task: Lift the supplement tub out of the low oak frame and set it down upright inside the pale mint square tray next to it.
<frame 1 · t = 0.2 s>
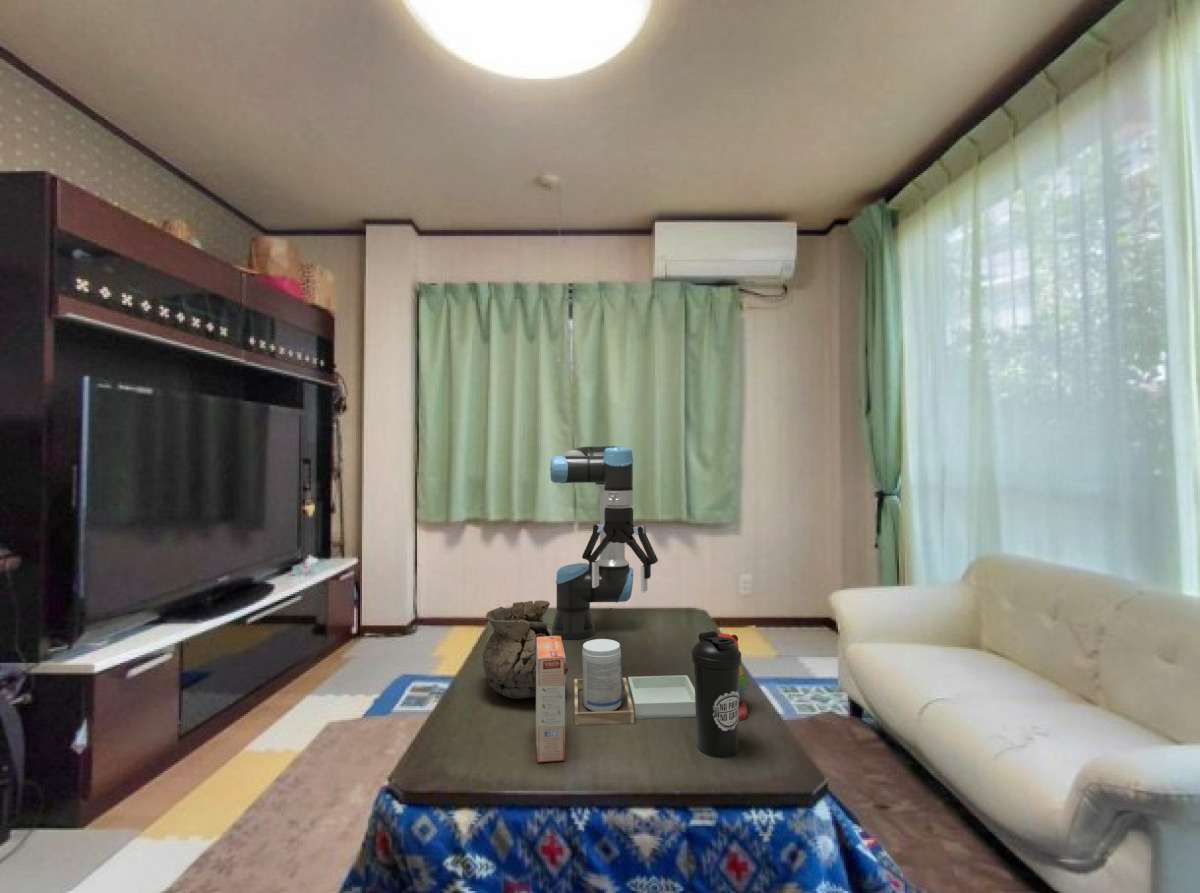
hand: (619, 589, 141), 27 cm above the table, tool pointing down, fingers open, 13 cm apart
supplement tub: (602, 705, 134), resting in oak frame
cracker box: (550, 745, 116), on the table
oak frame: (602, 704, 134), on the table
water bottle: (717, 747, 114), on the table
pale mint square tray: (662, 702, 135), on the table
clay pot: (523, 692, 142), on the table
stacking bear: (725, 709, 132), on the table
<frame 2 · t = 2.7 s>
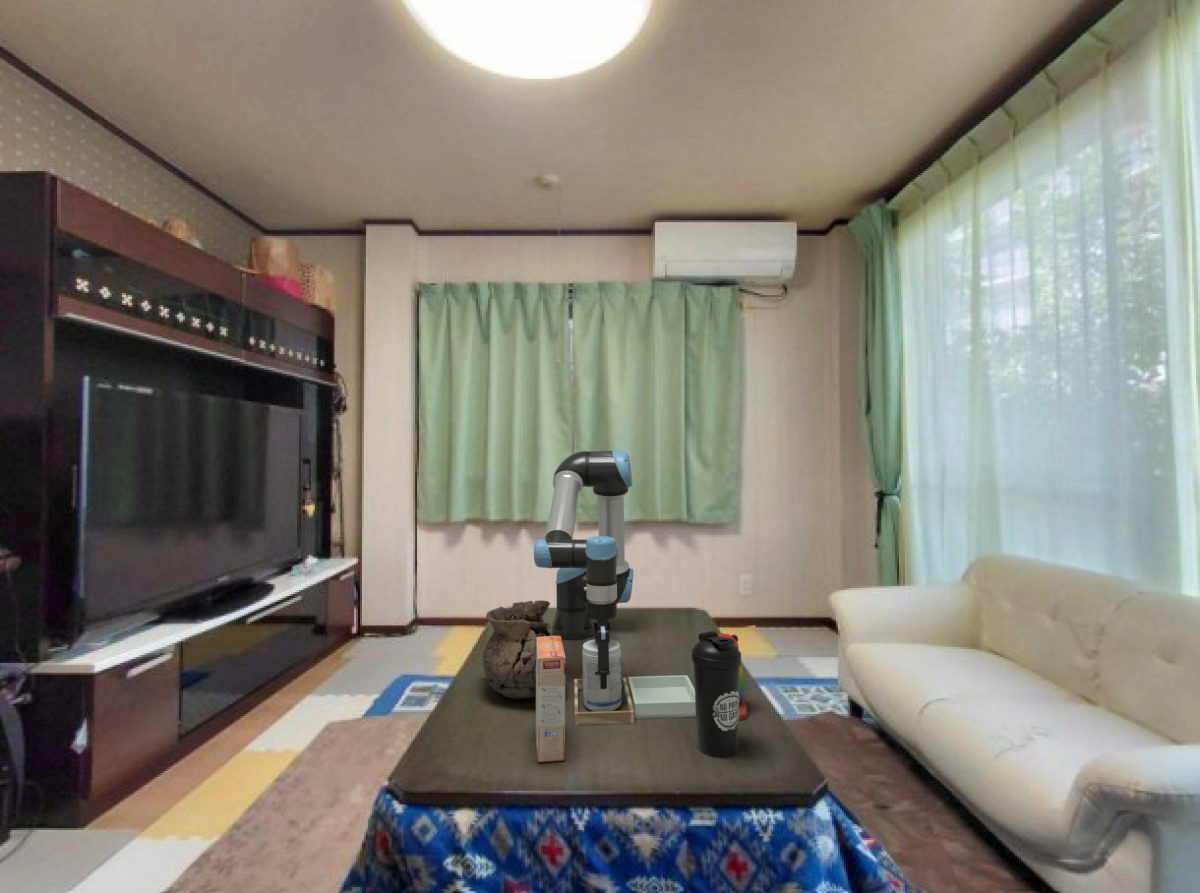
hand: (602, 691, 134), 3 cm above the table, tool pointing down, fingers closed on supplement tub, 10 cm apart
supplement tub: (602, 705, 134), resting in oak frame, touching gripper
everything else where it was.
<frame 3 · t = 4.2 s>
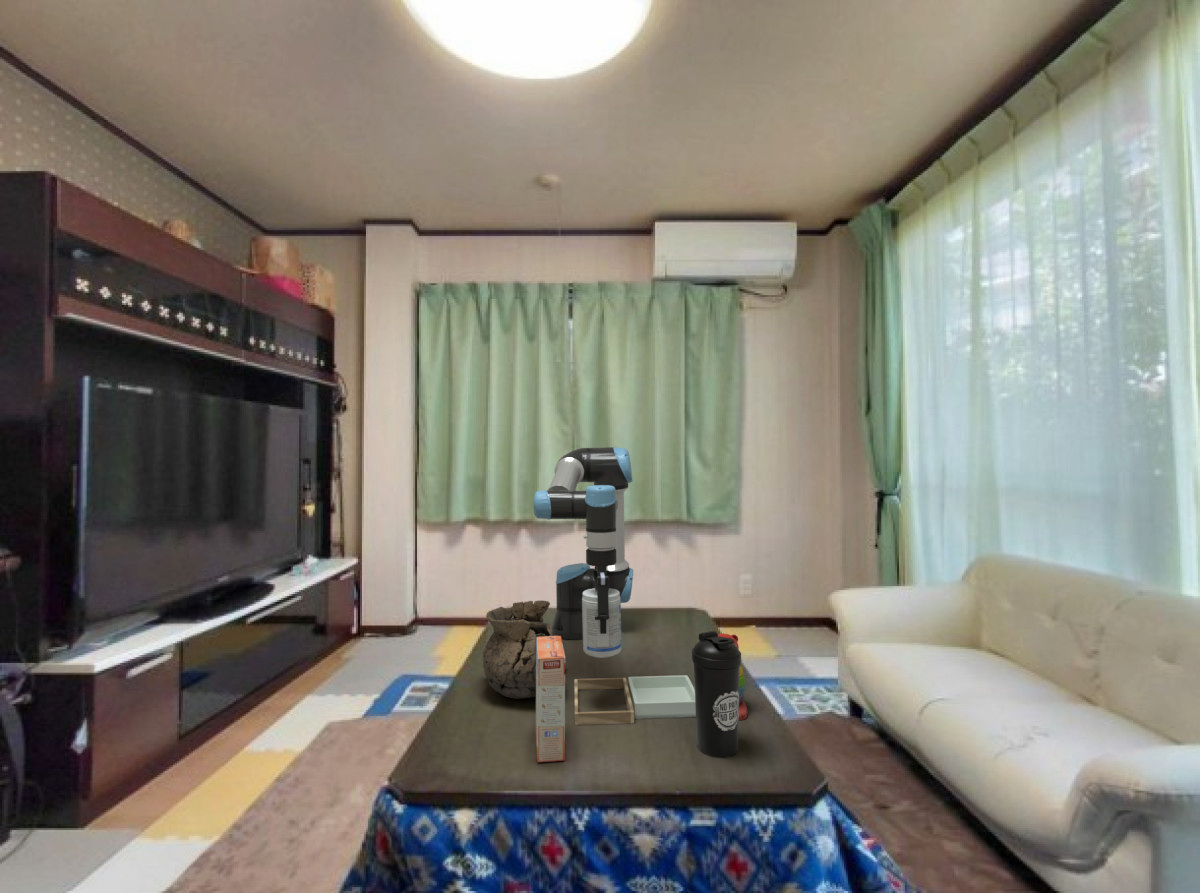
hand: (601, 638, 135), 16 cm above the table, tool pointing down, fingers closed on supplement tub, 10 cm apart
supplement tub: (602, 652, 135), point 13 cm above the table, touching gripper
everything else where it was.
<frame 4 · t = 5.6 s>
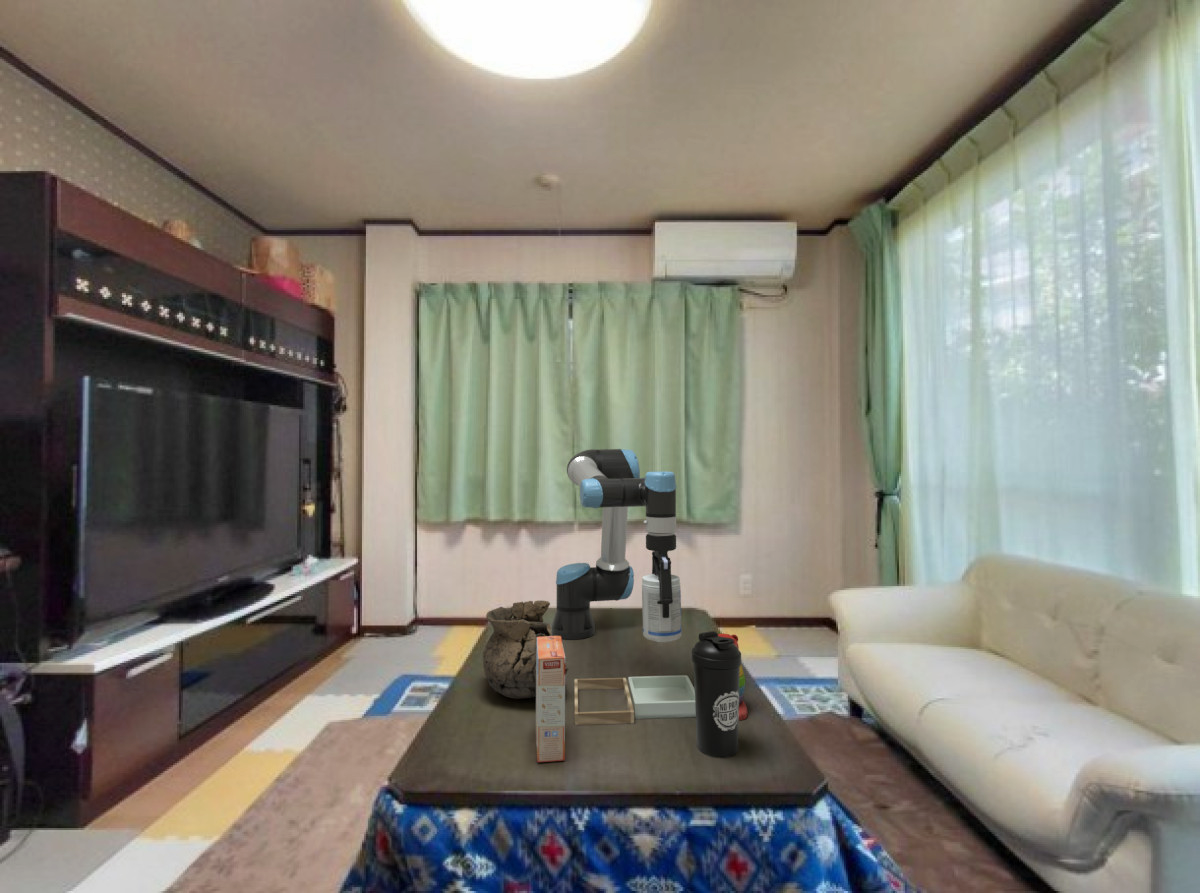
hand: (661, 623, 135), 19 cm above the table, tool pointing down, fingers closed on supplement tub, 10 cm apart
supplement tub: (661, 637, 135), point 16 cm above the table, touching gripper
everything else where it was.
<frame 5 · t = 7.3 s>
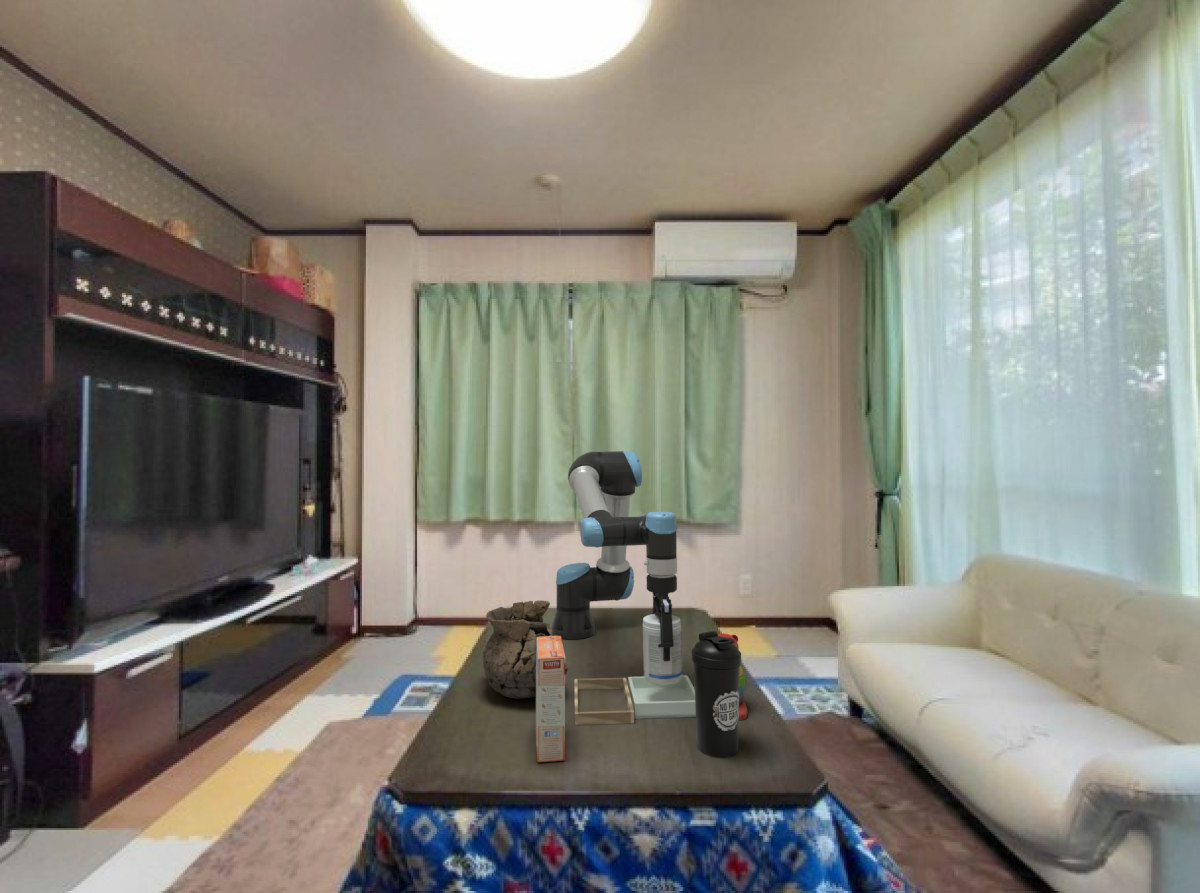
hand: (662, 665, 135), 9 cm above the table, tool pointing down, fingers closed on supplement tub, 10 cm apart
supplement tub: (662, 679, 135), point 6 cm above the table, touching gripper
everything else where it was.
when the fingers open (6 cm above the table, at t = 8.5 s): supplement tub drops 2 cm, resting on pale mint square tray.
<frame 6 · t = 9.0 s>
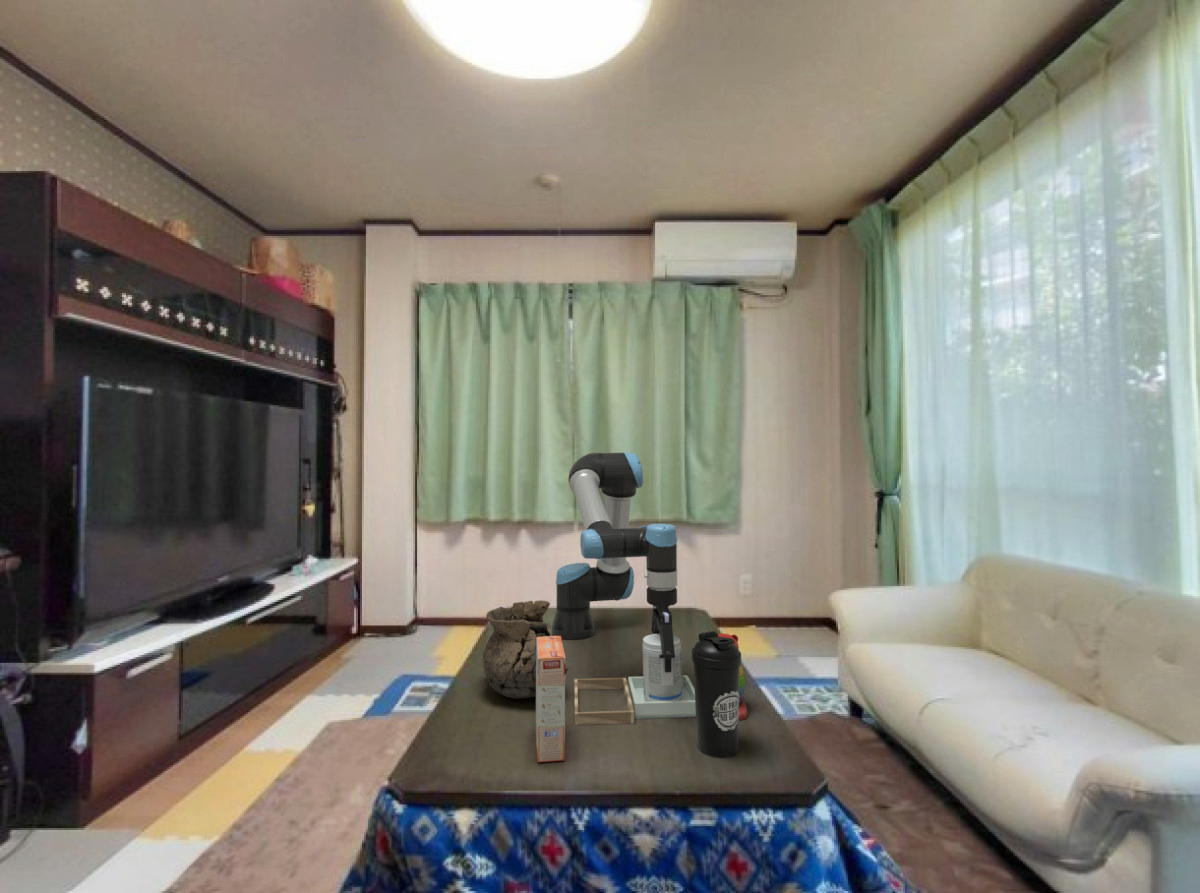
hand: (662, 673, 135), 7 cm above the table, tool pointing down, fingers open, 13 cm apart
supplement tub: (662, 699, 136), point 1 cm above the table, touching pale mint square tray
everything else where it was.
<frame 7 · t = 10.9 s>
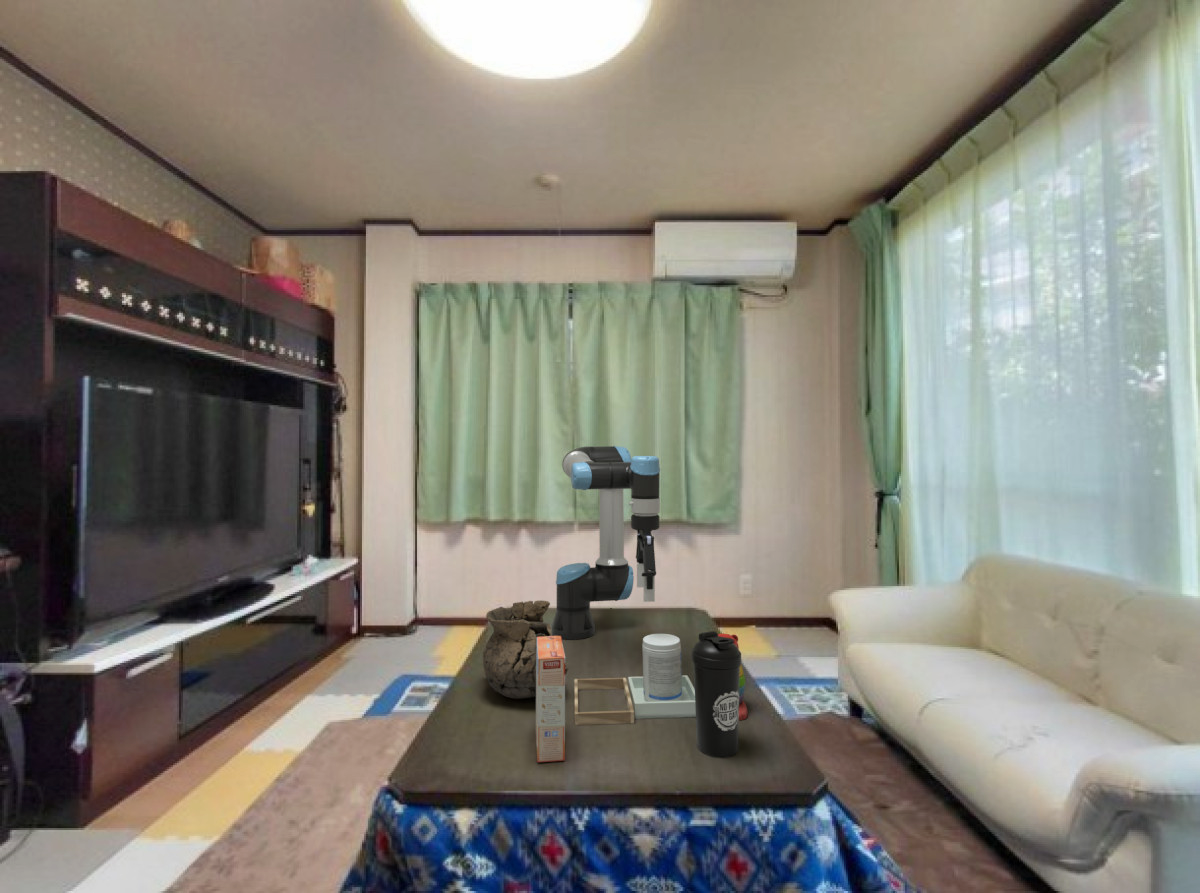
hand: (645, 593, 145), 24 cm above the table, tool pointing down, fingers open, 13 cm apart
nothing on the table moved.
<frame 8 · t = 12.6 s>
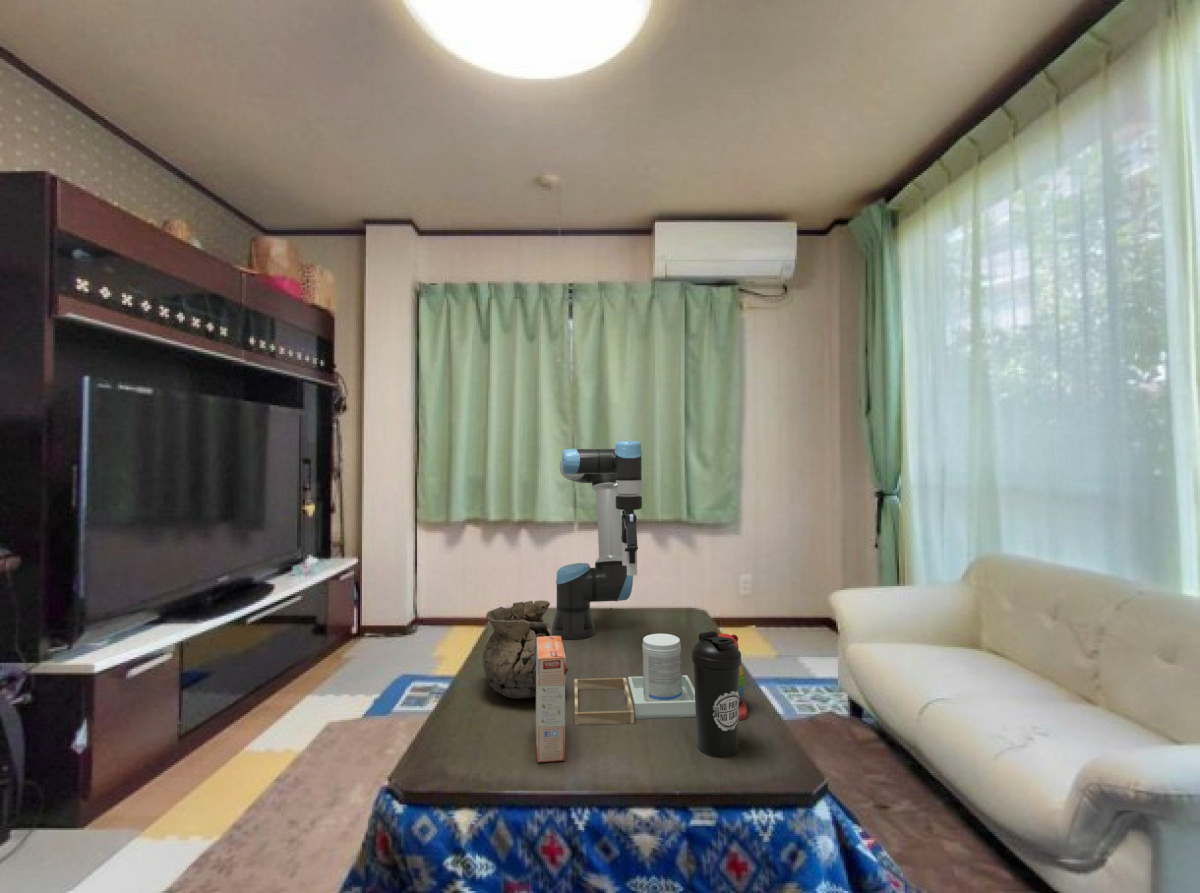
hand: (629, 570, 155), 29 cm above the table, tool pointing down, fingers open, 13 cm apart
nothing on the table moved.
at the end: supplement tub inside the target area on the pale mint square tray (0.6 cm from its centre), point 0.6 cm above the pale mint square tray's base; supplement tub tilted 0°; the gripper is holding nothing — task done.
